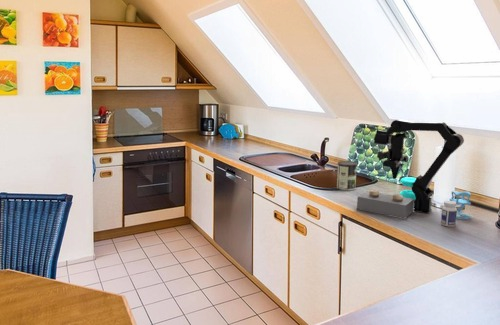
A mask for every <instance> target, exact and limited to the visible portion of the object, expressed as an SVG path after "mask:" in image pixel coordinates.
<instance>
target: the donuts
mask: <svg viewBox="0 0 500 325" xmlns="http://www.w3.org/2000/svg"><path fill="white" fill-rule="evenodd" d="M416 178H417V177H411V176H406V177H403V178H401V179H400V184H402V186H405V187H407V188H412V186H413V185H412V183H414V182H415V180H416ZM399 195H402V196H403V197H405V198H410V199H414V200H415V199H416V197H415V194H414V193H413V191H412V189H405V190H401V191H400V192H399Z"/></svg>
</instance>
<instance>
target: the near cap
mask: <svg viewBox="0 0 500 325" xmlns="http://www.w3.org/2000/svg"><path fill="white" fill-rule="evenodd" d="M392 195H393V200H395V201H402V200H403V196H402V195H400V194H398V193H397V194H392Z"/></svg>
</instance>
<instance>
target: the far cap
mask: <svg viewBox="0 0 500 325" xmlns="http://www.w3.org/2000/svg"><path fill="white" fill-rule="evenodd" d="M368 191H369V195H370V196H373V197H378V196H379V193H380V191H379V190H376V189H375V190H374V189H373V190H372V189H371V190H368Z"/></svg>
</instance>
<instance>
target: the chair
mask: <svg viewBox="0 0 500 325" xmlns="http://www.w3.org/2000/svg"><path fill="white" fill-rule="evenodd" d="M455 196H456V198H455ZM471 196H472V194H471V192H470V191H468V190H465V191H457V190H453V191H451V198H449V201H454V202H456V206H457V205H460V206H459V208H458V209H457V215H460V216H456V220H472V216H470V215H468V214H466V213H463V212H461V211H462V209H463V208H464V207H465V206H466V205H467V206H471V205H472V202H470V198H471ZM460 197H462V198H460ZM465 197H467V199H465Z"/></svg>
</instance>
